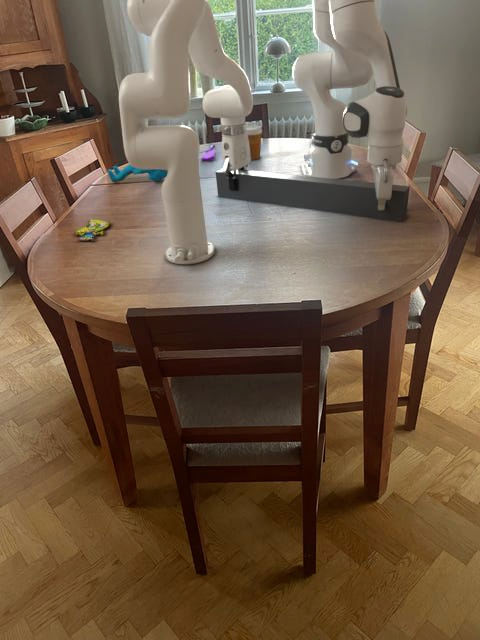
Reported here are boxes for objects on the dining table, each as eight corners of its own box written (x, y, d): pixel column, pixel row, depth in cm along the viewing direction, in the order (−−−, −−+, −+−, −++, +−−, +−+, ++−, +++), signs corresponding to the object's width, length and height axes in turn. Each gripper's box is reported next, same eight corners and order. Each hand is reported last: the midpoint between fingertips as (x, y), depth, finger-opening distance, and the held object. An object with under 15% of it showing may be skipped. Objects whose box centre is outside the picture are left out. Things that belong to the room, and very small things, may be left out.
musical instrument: (187, 168, 197) (231, 153, 201) (185, 163, 196) (230, 148, 200) (173, 159, 217) (213, 146, 221) (171, 155, 216) (212, 141, 220)
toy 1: (64, 237, 138) (89, 218, 150) (65, 240, 139) (90, 221, 151) (95, 238, 136) (118, 218, 148) (96, 241, 136) (119, 221, 148)
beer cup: (238, 160, 197) (235, 130, 191) (244, 154, 205) (242, 125, 198) (260, 160, 194) (258, 129, 188) (266, 154, 202) (264, 124, 195)
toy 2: (118, 158, 191) (184, 137, 181) (129, 184, 196) (194, 165, 186) (99, 171, 177) (170, 149, 167) (111, 198, 182) (181, 178, 172)
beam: (218, 196, 161) (215, 171, 157) (225, 192, 165) (223, 167, 160) (401, 221, 132) (405, 191, 127) (406, 215, 135) (410, 186, 130)
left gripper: (228, 136, 141) (234, 197, 150) (258, 124, 152) (261, 181, 162) (208, 135, 144) (214, 194, 154) (238, 123, 156) (242, 179, 166)
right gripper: (400, 165, 118) (394, 218, 126) (393, 144, 135) (389, 192, 143) (374, 166, 120) (370, 218, 127) (370, 145, 136) (367, 193, 144)
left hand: (238, 187), depth 158 cm, fingers closed on beam, 4 cm apart
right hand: (380, 204), depth 135 cm, fingers closed on beam, 5 cm apart
